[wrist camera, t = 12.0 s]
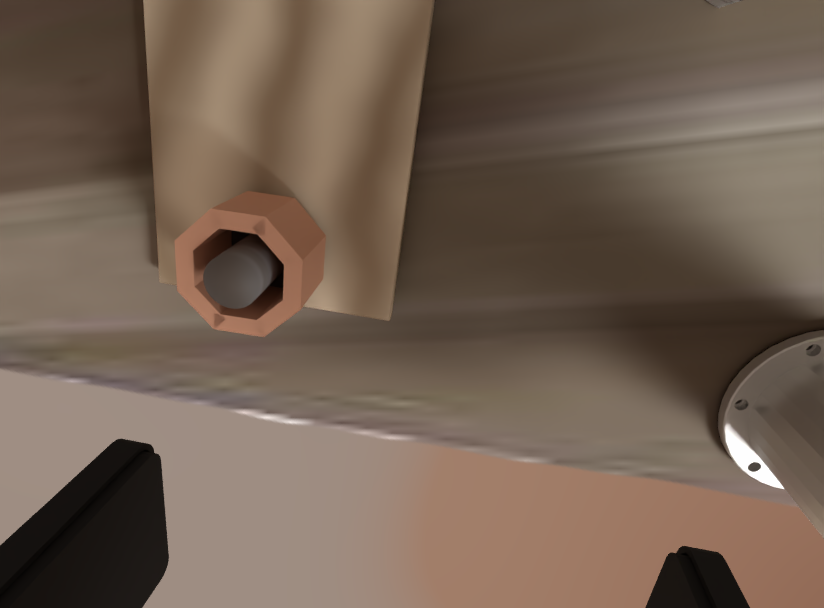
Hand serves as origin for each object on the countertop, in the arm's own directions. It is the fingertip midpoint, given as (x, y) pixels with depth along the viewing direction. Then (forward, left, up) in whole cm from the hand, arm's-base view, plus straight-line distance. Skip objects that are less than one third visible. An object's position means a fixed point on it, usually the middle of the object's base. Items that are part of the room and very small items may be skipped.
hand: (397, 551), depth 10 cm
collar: (+11, +3, -24) cm, 26 cm away
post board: (+11, -3, -26) cm, 28 cm away
